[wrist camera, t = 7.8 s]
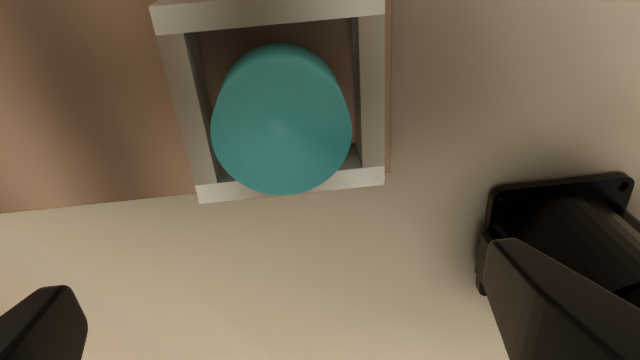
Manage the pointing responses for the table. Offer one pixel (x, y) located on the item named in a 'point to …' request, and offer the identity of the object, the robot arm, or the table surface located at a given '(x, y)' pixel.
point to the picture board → (166, 93)
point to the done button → (280, 120)
